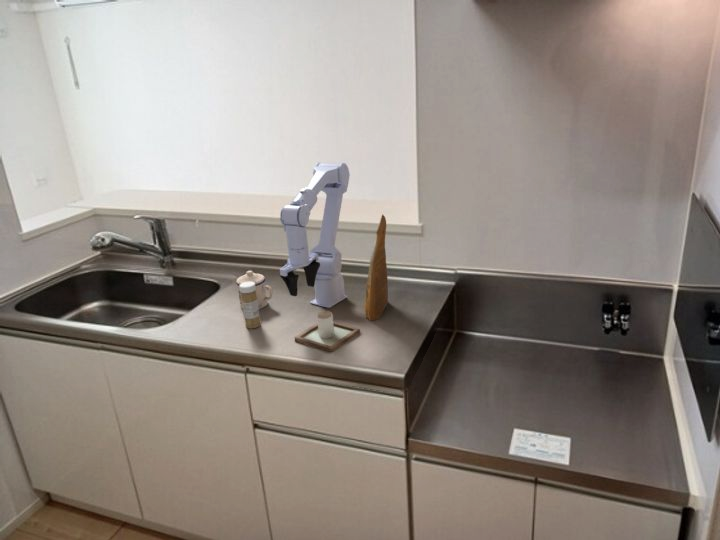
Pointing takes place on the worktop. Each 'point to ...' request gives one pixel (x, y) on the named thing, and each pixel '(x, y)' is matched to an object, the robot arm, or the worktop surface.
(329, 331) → the salt cellar
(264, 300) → the teacup with lid
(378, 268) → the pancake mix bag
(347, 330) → the rest tray
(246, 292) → the sprinkles bottle
